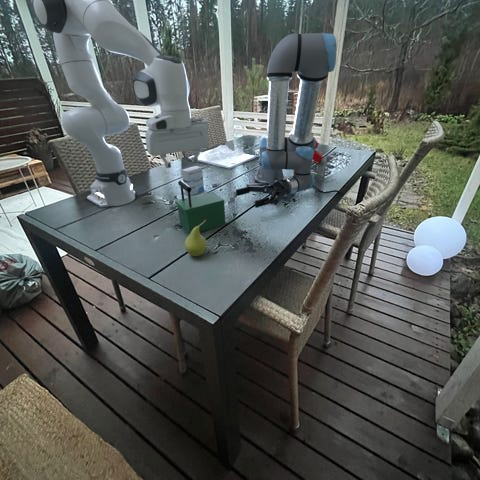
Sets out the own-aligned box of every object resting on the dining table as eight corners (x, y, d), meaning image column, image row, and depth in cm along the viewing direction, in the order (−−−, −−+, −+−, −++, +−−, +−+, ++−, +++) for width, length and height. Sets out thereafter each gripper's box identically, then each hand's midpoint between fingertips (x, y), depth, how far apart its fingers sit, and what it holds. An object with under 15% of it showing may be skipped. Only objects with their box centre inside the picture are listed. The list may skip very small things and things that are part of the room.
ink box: (198, 188, 136) (196, 165, 129) (204, 191, 133) (202, 167, 126) (184, 193, 131) (181, 169, 124) (190, 196, 128) (187, 171, 121)
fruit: (184, 250, 90) (179, 218, 83) (206, 245, 92) (203, 214, 86) (188, 261, 85) (184, 228, 78) (211, 256, 87) (209, 223, 80)
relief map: (229, 168, 161) (229, 160, 158) (188, 158, 179) (187, 150, 176) (255, 158, 179) (255, 150, 177) (215, 150, 197) (215, 142, 194)
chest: (189, 235, 98) (187, 212, 94) (180, 224, 105) (177, 203, 100) (225, 224, 105) (224, 202, 100) (214, 214, 112) (212, 194, 107)
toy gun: (326, 157, 168) (314, 136, 164) (326, 159, 164) (313, 137, 160) (301, 172, 178) (289, 153, 174) (300, 174, 174) (287, 154, 170)
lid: (185, 213, 93) (182, 189, 89) (175, 203, 100) (172, 181, 95) (224, 202, 100) (223, 180, 96) (212, 194, 107) (211, 173, 102)
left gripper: (202, 115, 89) (205, 157, 97) (140, 121, 80) (149, 167, 87) (211, 118, 85) (214, 162, 92) (146, 124, 75) (155, 173, 83)
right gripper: (267, 171, 126) (229, 180, 117) (306, 188, 109) (264, 200, 99) (266, 186, 130) (229, 196, 121) (304, 205, 113) (264, 218, 103)
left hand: (182, 164), depth 90 cm, fingers open, 8 cm apart
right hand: (245, 198), depth 110 cm, fingers open, 13 cm apart
